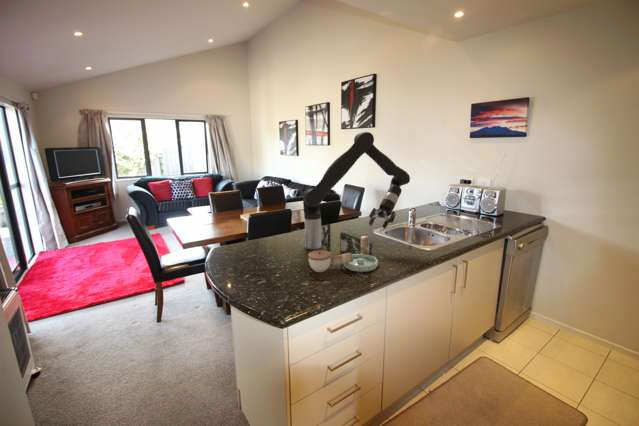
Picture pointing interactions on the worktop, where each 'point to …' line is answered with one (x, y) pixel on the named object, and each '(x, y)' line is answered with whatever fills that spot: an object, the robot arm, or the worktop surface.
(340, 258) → the beige banded cylinder
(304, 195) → the robot arm
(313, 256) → the lidded jar
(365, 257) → the ring dish
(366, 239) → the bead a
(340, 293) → the worktop surface
